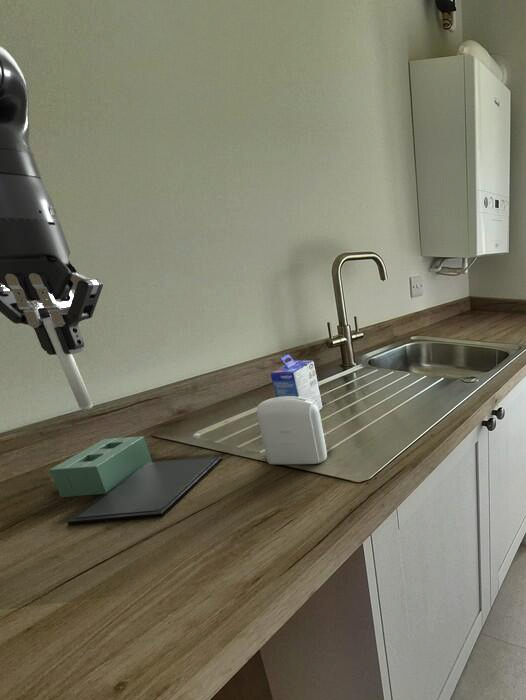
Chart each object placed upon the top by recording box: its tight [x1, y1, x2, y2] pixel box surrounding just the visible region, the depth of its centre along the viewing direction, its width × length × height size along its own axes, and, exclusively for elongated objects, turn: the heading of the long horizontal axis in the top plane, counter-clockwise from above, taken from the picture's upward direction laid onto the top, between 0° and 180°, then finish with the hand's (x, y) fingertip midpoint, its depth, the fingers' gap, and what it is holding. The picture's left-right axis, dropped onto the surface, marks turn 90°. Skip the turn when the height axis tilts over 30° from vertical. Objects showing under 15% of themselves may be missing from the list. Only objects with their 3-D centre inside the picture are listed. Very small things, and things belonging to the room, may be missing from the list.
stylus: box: [43, 317, 94, 411], centre depth 56 cm, size 1×1×13 cm
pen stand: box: [49, 435, 153, 498], centre depth 69 cm, size 6×11×5 cm, turn 9°
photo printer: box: [256, 396, 328, 465], centre depth 73 cm, size 10×4×12 cm, turn 90°
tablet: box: [66, 456, 223, 526], centre depth 66 cm, size 12×17×1 cm
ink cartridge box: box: [270, 353, 323, 411], centre depth 92 cm, size 10×6×14 cm, turn 2°
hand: (66, 352), depth 56 cm, fingers closed on stylus, 1 cm apart
